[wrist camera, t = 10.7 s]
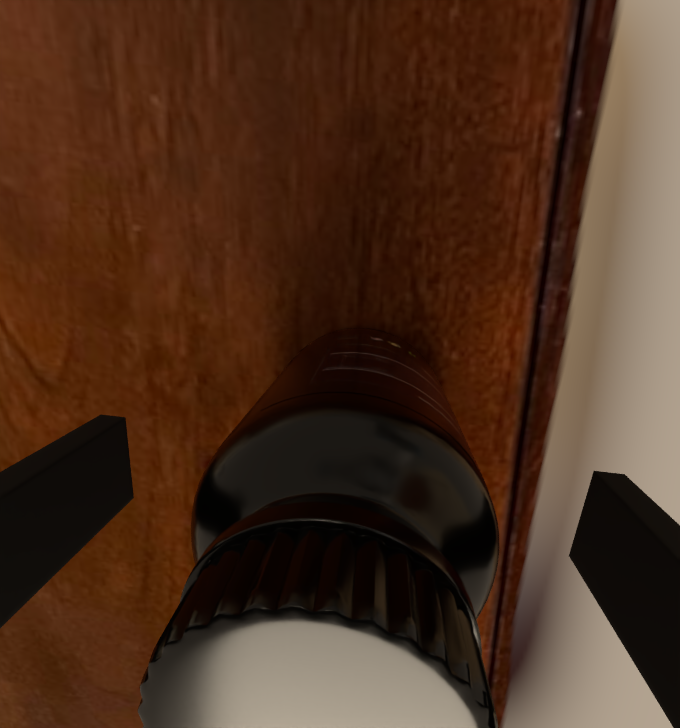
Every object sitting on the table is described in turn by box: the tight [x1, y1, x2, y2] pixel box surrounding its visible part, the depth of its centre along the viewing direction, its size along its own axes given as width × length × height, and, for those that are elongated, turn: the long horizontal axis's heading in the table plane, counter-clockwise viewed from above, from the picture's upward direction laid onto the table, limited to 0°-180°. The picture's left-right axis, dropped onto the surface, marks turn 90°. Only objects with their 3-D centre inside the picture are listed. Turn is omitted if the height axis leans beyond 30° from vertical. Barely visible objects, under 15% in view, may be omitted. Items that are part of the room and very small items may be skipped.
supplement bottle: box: [138, 328, 499, 728], centre depth 11 cm, size 7×7×12 cm
